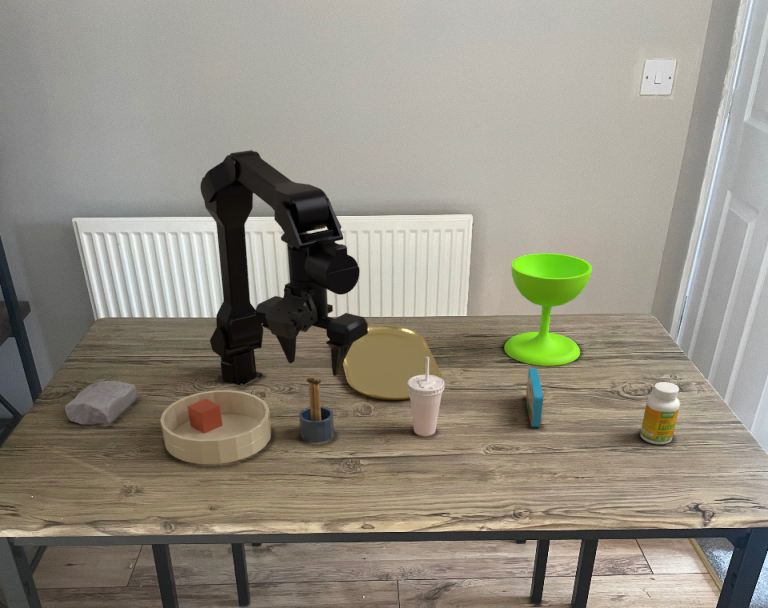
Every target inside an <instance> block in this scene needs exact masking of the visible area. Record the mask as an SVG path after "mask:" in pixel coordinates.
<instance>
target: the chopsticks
mask: <svg viewBox="0 0 768 608" xmlns="http://www.w3.org/2000/svg"><path fill="white" fill-rule="evenodd" d="M321 381H322V380H321V379H320V378H319V377H316V376H315V377H314V376H313V375H309V376H308V377H307V378H306V383H308V393H309V407H310V412H311V421H321V407H322V406H321V391H320V389H321V388H320V384H321V383H322V382H321Z"/></svg>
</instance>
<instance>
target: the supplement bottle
mask: <svg viewBox="0 0 768 608" xmlns="http://www.w3.org/2000/svg"><path fill="white" fill-rule="evenodd" d="M679 391H680V387H679V386H678V385H676V384H675V383H672V382H668V381H660V382H656V383H655V384H654V386H653V390H652V394H651V395H649V397H648V398H647V400H646V403H645V409H644V414H643V419H642V423H641V429H640V434H639V435H640V437H641V439H642V440H644V441H645V442H647V443H649V444H652V445H666V444H668V443H670V442H672V440H673V437H674V434H675V428H676V425H677V421H678V416H679V411H680V407H681V402H680V399H678V395H679Z"/></svg>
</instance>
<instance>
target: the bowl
mask: <svg viewBox="0 0 768 608" xmlns="http://www.w3.org/2000/svg"><path fill="white" fill-rule="evenodd" d="M204 399H208V400H210V401H212V402H214V403H216V404H218V405H220V411H221V419H222V426H220V427H218V428H216V429H213V430H211V431H209V432H207V433H205V434H204V433H202V432H201V431H199V430H197V429H195V428H193V427H191V424H190V418H189V412H188V406H189V405H192V404H194V403H197V402H199V401H201V400H204ZM270 412H271V411H270V408H269V406H268V404H267V402H266V401H265V400H263V399H262V398H261V397H259V396H258V395H254V394H251V393H248V392H247V391H246V392H245V391H240V390H232V389H226V390H225V389H223V390H219V389H218V390H209V391H203V392H197V393H194V394H191V395H188V396H185V397H182V398H180V399H178V400H176V401H175V402H174V401H173V402H172V403H170V405H168V407H166V408H165V409H164V410H163V411H162V414H161V416H160V420H159V421H160V428H161V432H162V433H161V434H162V438H163V443H164V446H165V449H166V451H167V452H168V453H169V454H170V455H171V456H172V457H174V458H176V459H178V460H180V461H183V462H187V463H189V464H190V463H191V464H198V465H222V464H228V463H233V462H236V461H240V460H243V459H247V458H248V457H251V456H253V455H255V454H256V453H258V452H260V451H261V450H262V449H264V448H265V447H266V446H267V444H268V443H269V442H270V440H271V436H272V423H271V415H270V414H271V413H270Z"/></svg>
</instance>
